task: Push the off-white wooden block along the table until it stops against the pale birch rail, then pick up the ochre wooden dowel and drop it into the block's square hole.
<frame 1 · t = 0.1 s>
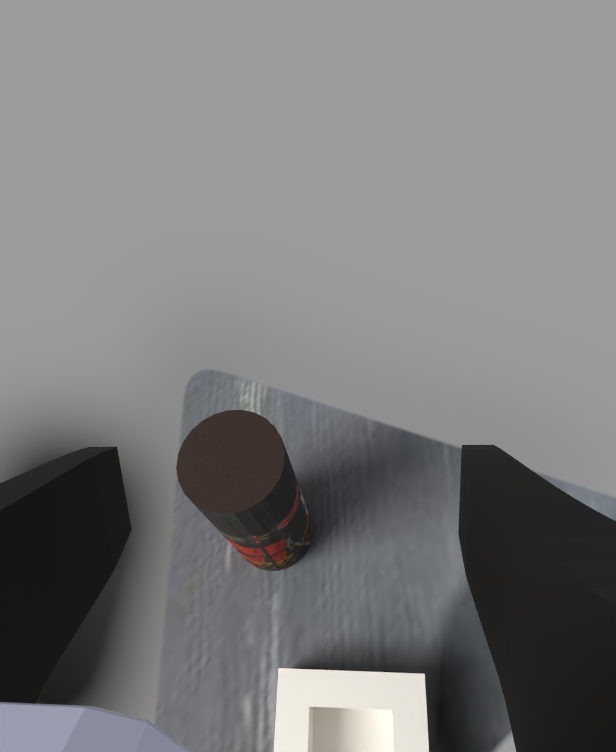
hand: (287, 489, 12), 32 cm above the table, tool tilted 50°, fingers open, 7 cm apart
deodorant: (274, 531, 44), on the table
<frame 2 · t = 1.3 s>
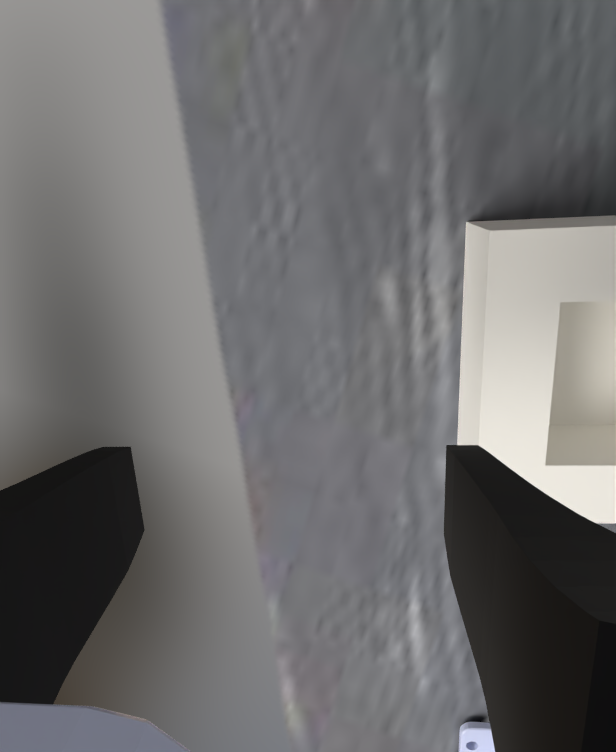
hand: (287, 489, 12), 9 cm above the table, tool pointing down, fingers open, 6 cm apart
block: (590, 348, 20), on the table
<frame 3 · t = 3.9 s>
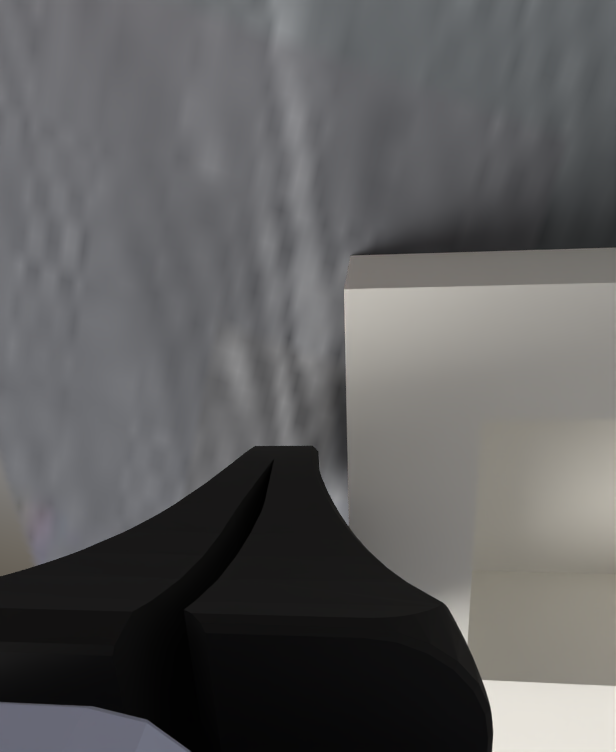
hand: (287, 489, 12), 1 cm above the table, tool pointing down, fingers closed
block: (554, 450, 13), on the table, touching gripper
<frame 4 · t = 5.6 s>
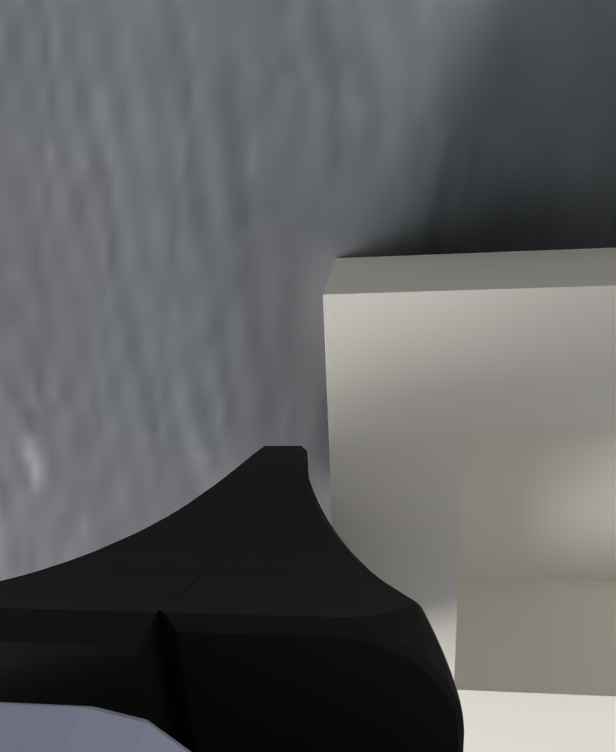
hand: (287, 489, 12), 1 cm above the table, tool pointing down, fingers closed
block: (546, 455, 13), on the table, touching gripper
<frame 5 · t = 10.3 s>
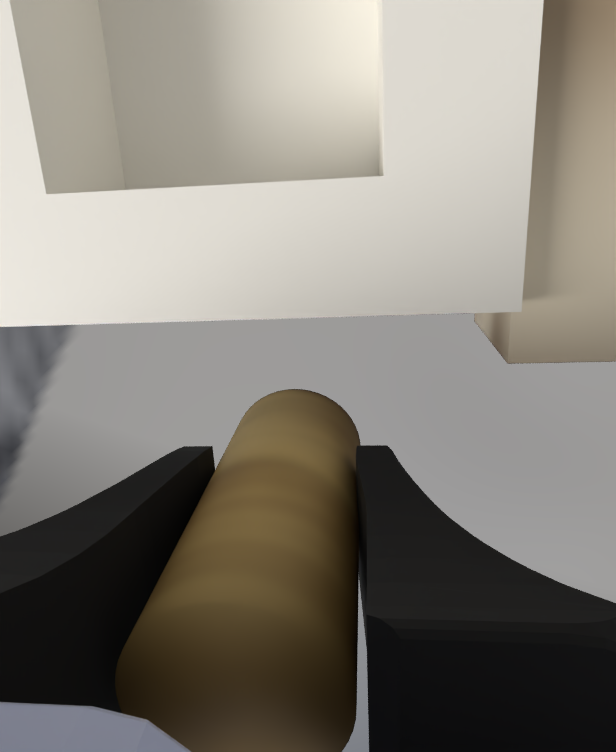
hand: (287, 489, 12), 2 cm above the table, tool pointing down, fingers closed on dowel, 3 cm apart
dowel: (297, 448, 14), on the table, touching gripper
rail: (541, 54, 10), on the table
block: (248, 49, 11), on the table
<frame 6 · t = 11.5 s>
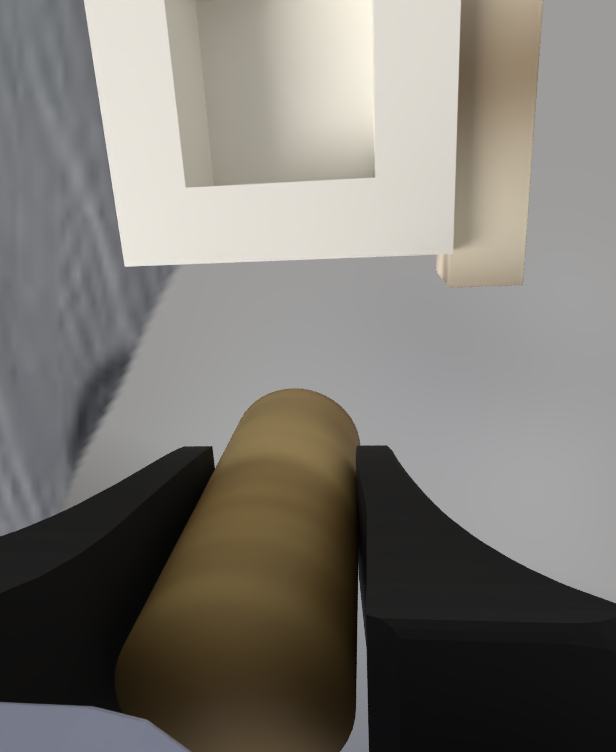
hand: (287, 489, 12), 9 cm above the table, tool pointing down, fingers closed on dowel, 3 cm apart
dowel: (297, 447, 14), point 7 cm above the table, touching gripper
rail: (473, 102, 17), on the table
block: (291, 97, 18), on the table
when the fingers open (5 cm above the table, at t = 13.0 s): dowel drops 3 cm, resting on block.
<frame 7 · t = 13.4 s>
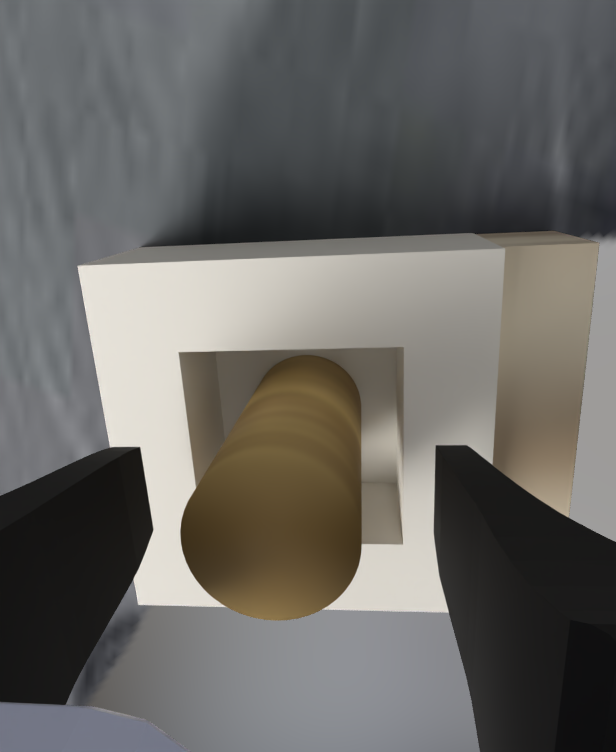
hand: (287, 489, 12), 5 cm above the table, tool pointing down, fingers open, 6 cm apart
dowel: (307, 406, 16), point 1 cm above the table, touching block
rail: (502, 412, 16), on the table
block: (310, 392, 17), on the table, touching dowel
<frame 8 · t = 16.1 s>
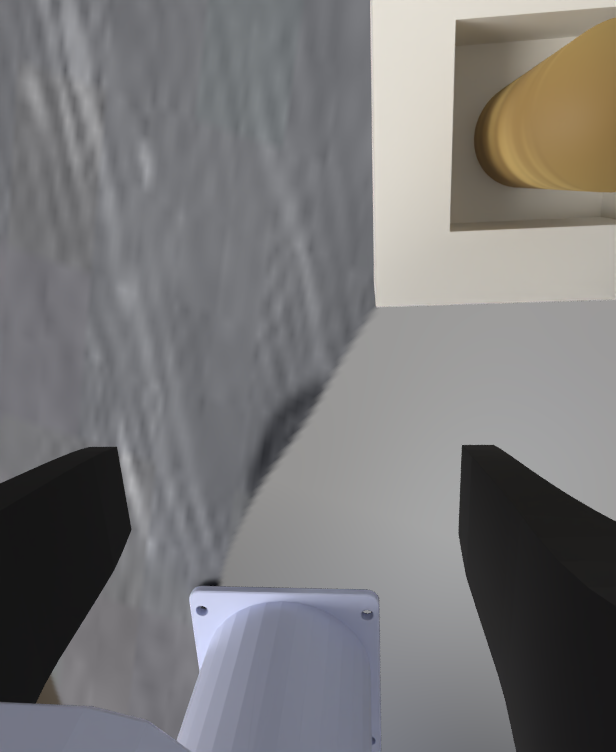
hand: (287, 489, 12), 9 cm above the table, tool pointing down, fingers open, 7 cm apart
dowel: (525, 135, 17), point 1 cm above the table, touching block
block: (514, 137, 18), on the table, touching dowel
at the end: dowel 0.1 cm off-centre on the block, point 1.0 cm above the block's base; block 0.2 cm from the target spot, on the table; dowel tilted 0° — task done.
